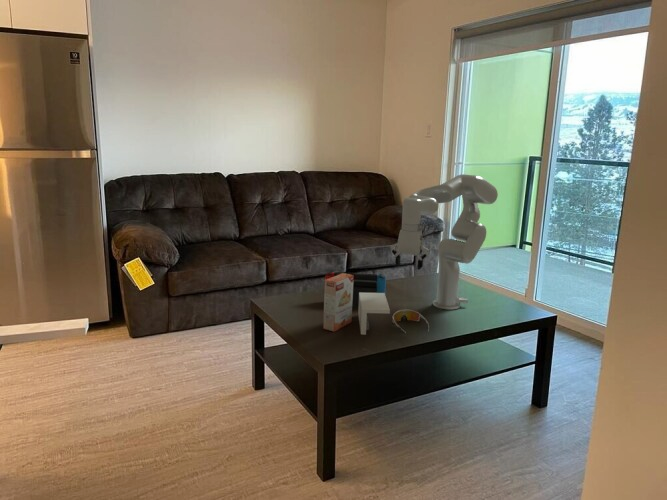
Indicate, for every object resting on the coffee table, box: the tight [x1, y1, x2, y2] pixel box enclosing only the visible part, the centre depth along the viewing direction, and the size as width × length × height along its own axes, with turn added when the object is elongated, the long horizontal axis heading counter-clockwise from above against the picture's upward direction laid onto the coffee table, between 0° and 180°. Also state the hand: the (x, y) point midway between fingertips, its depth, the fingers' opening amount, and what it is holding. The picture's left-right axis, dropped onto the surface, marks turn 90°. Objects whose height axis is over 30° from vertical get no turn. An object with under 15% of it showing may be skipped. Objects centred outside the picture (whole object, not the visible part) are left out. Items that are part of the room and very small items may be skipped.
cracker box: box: [322, 272, 354, 332], centre depth 215 cm, size 14×6×21 cm, turn 148°
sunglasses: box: [391, 309, 430, 334], centre depth 219 cm, size 14×15×5 cm
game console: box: [324, 271, 387, 307], centre depth 244 cm, size 28×6×15 cm, turn 84°
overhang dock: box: [357, 292, 391, 336], centre depth 219 cm, size 11×22×10 cm, turn 0°
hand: (408, 267), depth 224 cm, fingers open, 9 cm apart
